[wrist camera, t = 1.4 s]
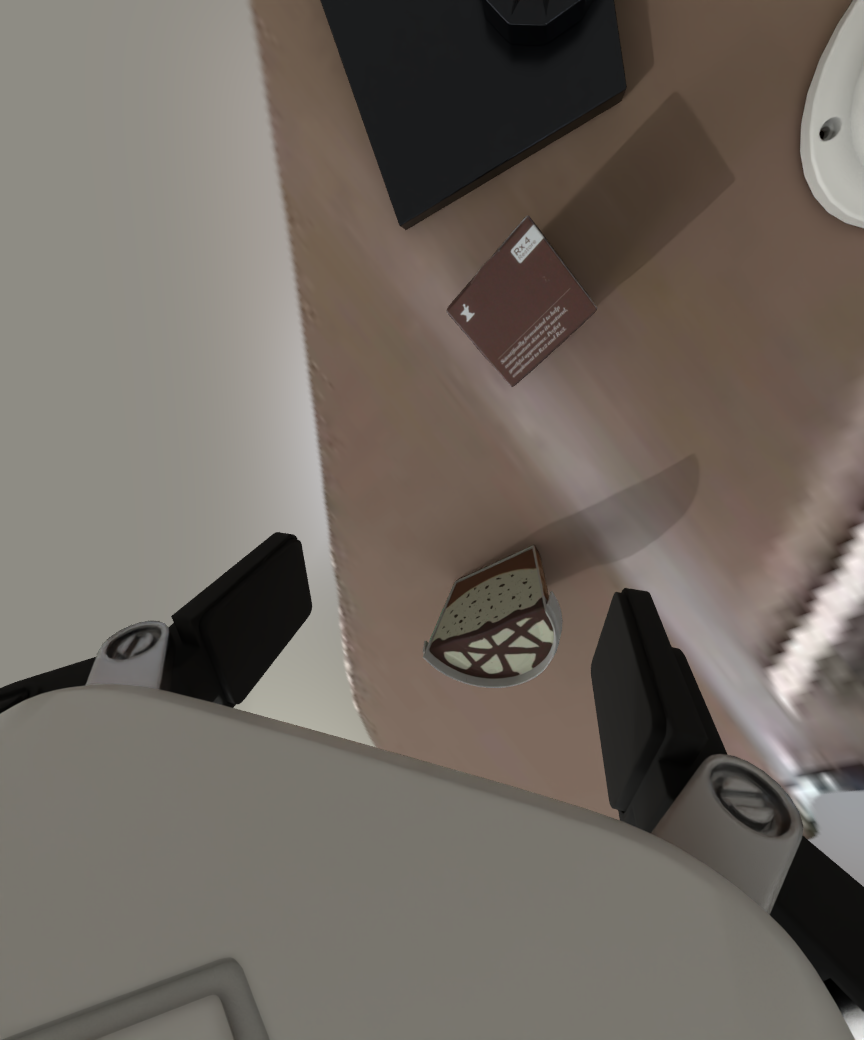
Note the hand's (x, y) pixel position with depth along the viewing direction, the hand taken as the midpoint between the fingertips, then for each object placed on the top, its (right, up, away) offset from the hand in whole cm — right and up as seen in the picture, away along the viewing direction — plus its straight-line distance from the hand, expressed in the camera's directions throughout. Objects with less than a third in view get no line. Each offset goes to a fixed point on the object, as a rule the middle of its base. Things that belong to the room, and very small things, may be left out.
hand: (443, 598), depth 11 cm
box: (+6, +17, +16) cm, 24 cm away
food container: (+7, -4, +27) cm, 28 cm away
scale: (+1, +30, +10) cm, 32 cm away
